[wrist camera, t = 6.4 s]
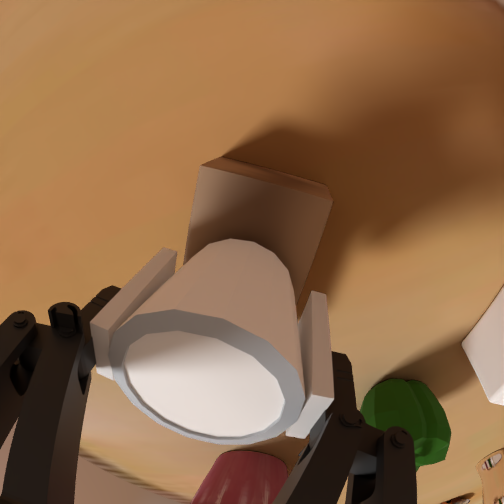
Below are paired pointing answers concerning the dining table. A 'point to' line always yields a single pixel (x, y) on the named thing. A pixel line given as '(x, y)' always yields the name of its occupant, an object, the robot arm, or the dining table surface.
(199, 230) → the walnut base block
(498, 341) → the medicine bottle
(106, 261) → the dining table surface
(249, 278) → the white cup
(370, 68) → the dining table surface
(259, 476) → the plant pot
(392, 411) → the bell pepper
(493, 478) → the beer glass
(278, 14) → the dining table surface
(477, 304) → the dining table surface
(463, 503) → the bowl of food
